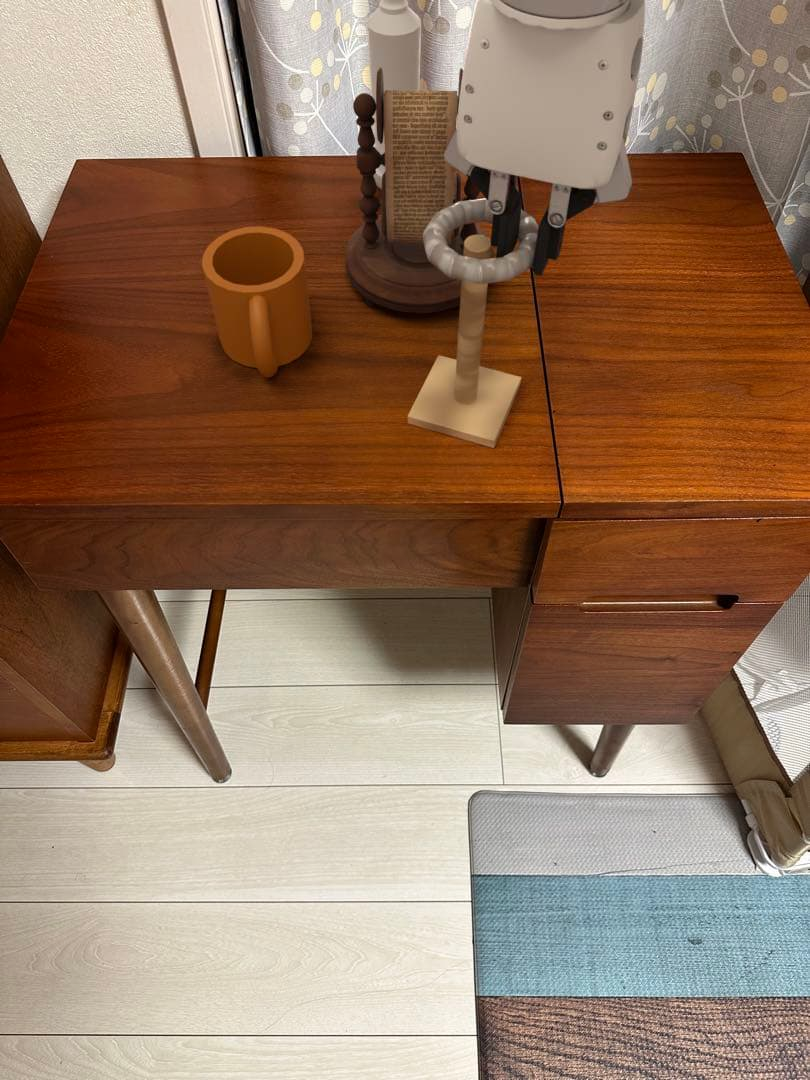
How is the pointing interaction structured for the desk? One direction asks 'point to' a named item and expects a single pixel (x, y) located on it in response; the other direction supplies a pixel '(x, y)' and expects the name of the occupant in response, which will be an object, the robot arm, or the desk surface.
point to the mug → (259, 296)
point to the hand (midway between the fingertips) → (524, 257)
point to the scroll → (406, 199)
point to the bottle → (393, 54)
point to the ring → (472, 267)
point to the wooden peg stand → (467, 374)
